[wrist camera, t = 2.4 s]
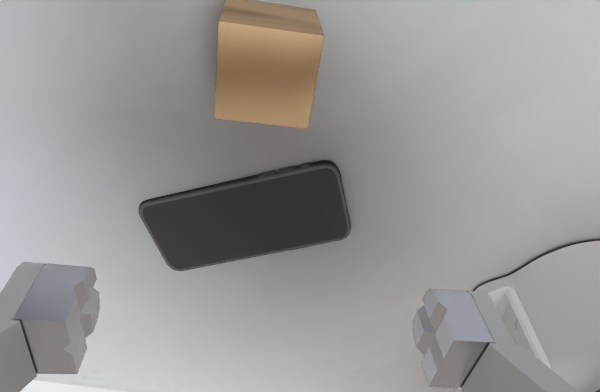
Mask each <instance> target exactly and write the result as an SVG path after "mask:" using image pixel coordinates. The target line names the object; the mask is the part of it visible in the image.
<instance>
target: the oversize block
mask: <svg viewBox="0 0 600 392" xmlns="http://www.w3.org/2000/svg"><path fill="white" fill-rule="evenodd" d="M323 39H324V34H323V31H322V28H321V25H320V22H319V19H318V16H317V13H316V10H313V9H306V8H299V7H292V6H286V5H279V4H272V3H265V2H259V1H252V0H225V3H224V6H223V9H222V12H221V15H220V19H219V25H218V45H217V66H216V87H215V108H214V119H223V120H232V121H241V122H250V123H259V124H268V125H277V126H286V127H295V128H304V129H307V128H308V122H309V117H310V111H311V106H312V100H313V95H314V89H315V84H316V78H317V73H318V67H319V62H320V56H321V51H322V45H323Z"/></svg>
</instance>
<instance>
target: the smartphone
mask: <svg viewBox="0 0 600 392" xmlns="http://www.w3.org/2000/svg"><path fill="white" fill-rule="evenodd" d="M139 214H140V217H141V219H142V220H143V222H144V224H145V226H146V227H147V229H148V231H149V233H150V235H151V236H152V238H153V240H154V242H155V243H156V245H157V247H158V249H159V251H160V252H161V254H162V256H163V258H164V259H165V261H166V263H167V264H168V265H169V266H170V267H171V268H172V269H174V270H177V271H184V270H189V269H194V268H199V267H205V266H210V265H215V264H220V263H225V262H230V261H235V260H240V259H246V258H251V257H256V256H261V255H266V254H271V253H276V252H281V251H286V250H293V249H299V248H304V247H309V246H312V245H317V244H322V243H327V242H332V241H337V240H342V239H344V238H346V237H347V236H348V235H349V233H350V229H351V224H350V219H349V214H348V209H347V205H346V200H345V195H344V190H343V185H342V180H341V175H340V172H339V169H338V168H337V166H336V165H335V164H334V163H333V162H331V161H319V162H314V163H310V164H309V163H306V164H301V165H300V166H296V167H294V166H292V167H287V168H282V169H279V170H277V171H274V170H273V171H269V172H265V173H260V174H259V175H255V176H250V177H246V178H241V179H237V180H233V181H228V182H224V183H219V184H215V185H210V186H206V187H202V188H197V189H193V190H188V191H184V192H179V193H175V194H171V195H166V196H162V197H157V198H153V199H149V200H145V201H143V202H142V203H141V204H140V206H139Z"/></svg>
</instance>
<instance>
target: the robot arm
mask: <svg viewBox="0 0 600 392" xmlns="http://www.w3.org/2000/svg"><path fill="white" fill-rule="evenodd" d="M96 279H97V278H96V273H95V269H94V268H92V267H81V266H70V265H58V264H43V263H31V262H23V263H22V264H20V265H19V266H18V267H17V268H16V270H15V271H14V273H13V274H12V276H11V278H10V279H9V281H8V282H7V284H6V285H5V287H4V289H3V290H2V292H1V293H0V392H20V391H21V390H22V389H23V388H24V387H25V386H26V385H27V384H28V383H30V381H32V380H33V379H34V378H35V377H36V376H37V375H36V374H77V373H78V371H79V368H80V365H81V363H82V360H83V358H84V355H85V352H86V350H87V345H86V340H85V338H86V337H87V336H88V335H90V334H91V333H92V332H93V331H94V328H95V325H96V323H97V319H98V314H99V307H100V298H99V292H98V291H97V290H96V289H95V288H93V287H94V284H95V282H96ZM423 302H424V305H425V306H423V307H422V308H420V309H419V310H417V312H416V315H415V317H414V320H413V336H414V341H415V344H416V347H417V348H418V349H419V350H420V351H421V352H422V353H423V354H424V357H423V359H422V361H421V364H422V367H423V370H424V373H425V376H426V379H427V382H428V386H436V387H452V388H456V389H458V390H460V391H462V392H600V241H591V242H585V243H579V244H575V245H571V246H568V247H564V248H561V249H559V250H556V251H553V252H551V253H549V254H546V255H544V256H542V257H540V258H538V259H536V260H535V261H533V262H531V263H530V264H528V265H526V266H525V267H523V268H522V269H520V270H518V271H517V272H515V273H513V274H511V275H509V276H506V277H503V278H500V279H497V280H494V281H491V282H488V283H486V284H484V285H482V286H480V287H478V288H477V289H476V290H475V291H461V290H442V289H429V290H427V291H426V292H425V294H424V296H423Z"/></svg>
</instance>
